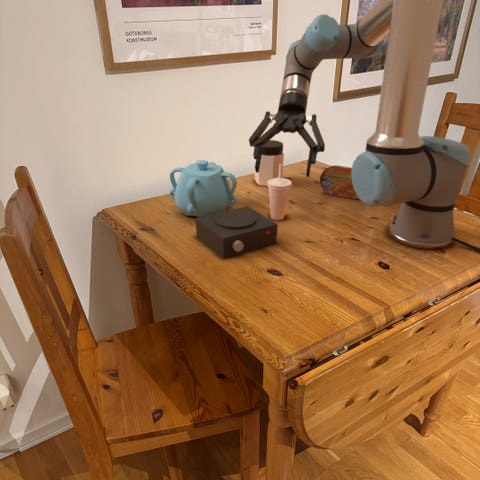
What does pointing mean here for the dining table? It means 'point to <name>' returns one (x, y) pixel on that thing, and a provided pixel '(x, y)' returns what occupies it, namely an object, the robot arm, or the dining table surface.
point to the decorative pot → (202, 189)
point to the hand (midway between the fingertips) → (281, 172)
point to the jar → (270, 162)
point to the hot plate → (236, 231)
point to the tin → (338, 182)
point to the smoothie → (278, 195)
